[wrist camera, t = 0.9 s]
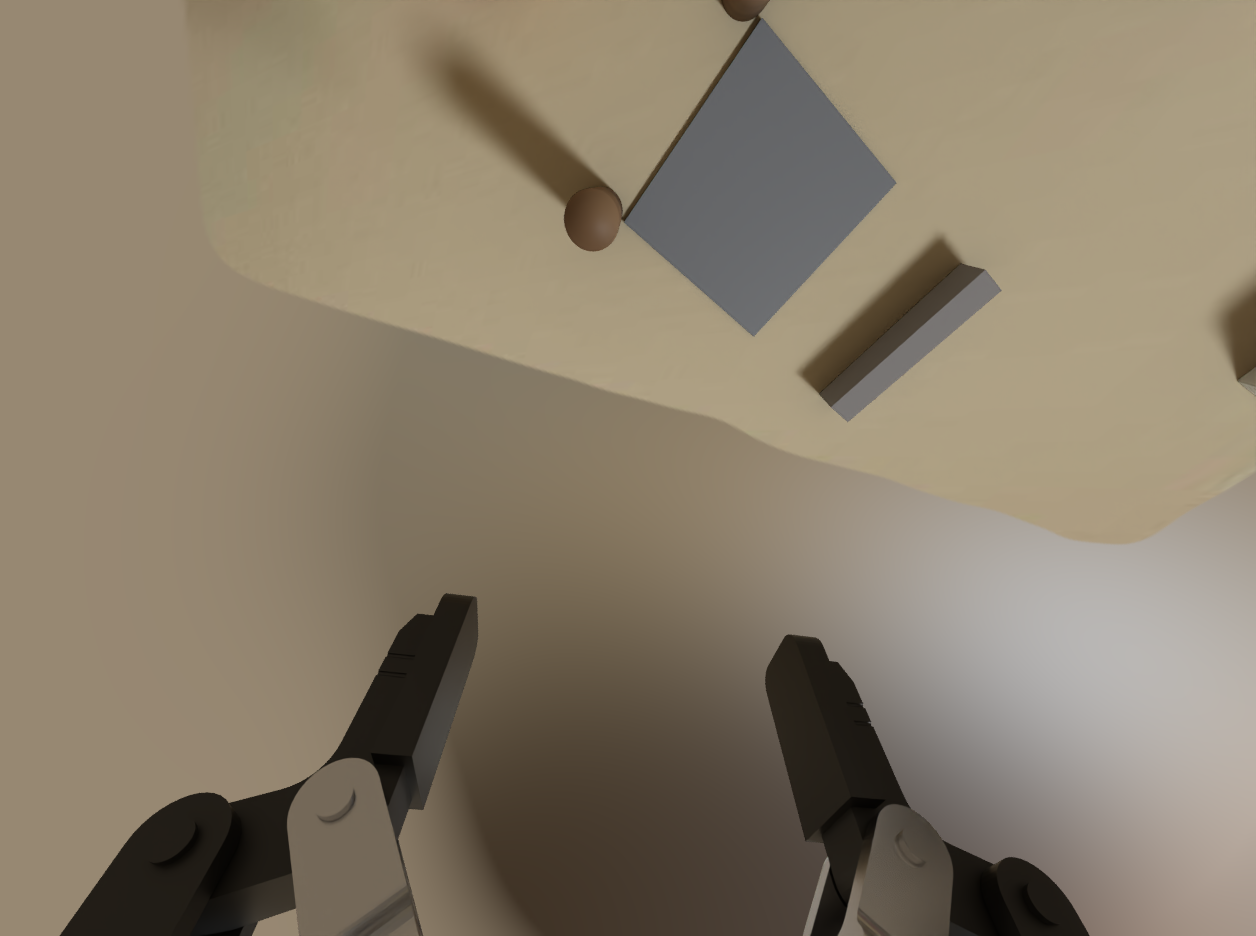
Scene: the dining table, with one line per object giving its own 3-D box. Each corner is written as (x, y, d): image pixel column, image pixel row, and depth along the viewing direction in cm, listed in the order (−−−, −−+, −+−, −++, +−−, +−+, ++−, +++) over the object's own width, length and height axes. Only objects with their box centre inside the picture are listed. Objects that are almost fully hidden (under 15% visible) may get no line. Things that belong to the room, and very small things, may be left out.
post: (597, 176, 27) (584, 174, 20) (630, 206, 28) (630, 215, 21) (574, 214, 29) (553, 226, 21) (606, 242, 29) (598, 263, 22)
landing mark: (761, 18, 24) (762, 17, 23) (894, 182, 28) (896, 182, 27) (624, 222, 29) (624, 222, 29) (753, 335, 33) (753, 336, 33)
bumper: (960, 263, 30) (985, 269, 28) (976, 283, 31) (1001, 290, 29) (819, 393, 35) (830, 407, 33) (835, 408, 36) (847, 422, 34)
